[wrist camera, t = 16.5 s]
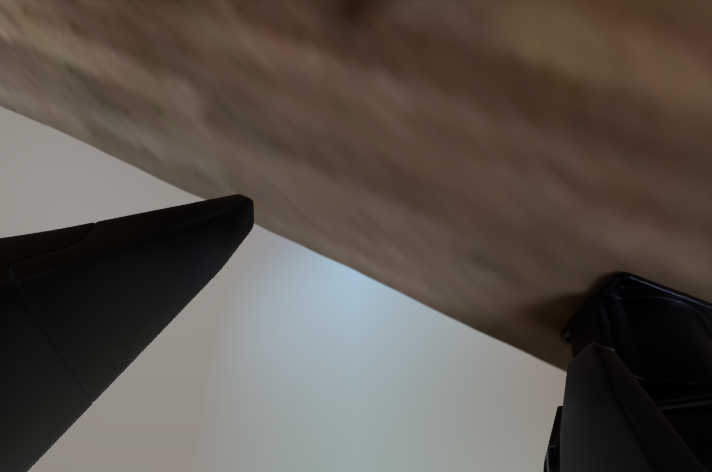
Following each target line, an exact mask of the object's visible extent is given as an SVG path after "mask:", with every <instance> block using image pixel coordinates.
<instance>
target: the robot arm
mask: <svg viewBox="0 0 712 472" xmlns="http://www.w3.org/2000/svg"><path fill="white" fill-rule="evenodd" d="M253 224H254V203H253V200H252V199H250V198H248V197H246V196H244V195H241V194H236V195H230V196H225V197H220V198H215V199H210V200H205V201H200V202H195V203H190V204H185V205H180V206H175V207H170V208H165V209H159V210H154V211H149V212H145V213H139V214H134V215H129V216H124V217H119V218H114V219H109V220H104V221H99V222H97V223H88V224H83V225H78V226H73V227H68V228H63V229H57V230H51V231H45V232H39V233H33V234H26V235H19V236H13V237H6V238H0V472H27V471H28V470H29V469H30V468H31V467H32V466H33V465H34V464H35V463H36V462H37V461H38V460H39V459H40V458H41V457H42V456H43V455H44V454H45V453H46V451H47V450H48V449H49V448H50V447H51V446H52V445H53V444H54V443H55V442H56V441H57V440H58V439H59V438H60V437H61V436H62V435H63V434H64V433H65V432H66V431H67V430H68V428H70V426H71V425H72V424H73V423H74V422H75V421H76V420H77V419H78V418H79V417H80V416H81V415H82V414H83V413H84V412H85V411H86V410H87V409H88V408H89V407H90V406H91V405H92V402H94V401H95V400H96V399H97V398H98V397H99V396H100V395H101V394H102V393H103V392H104V391H105V390H106V389H107V388H108V387H109V385H111V384H112V382H113V381H114V380H115V379H116V378H117V377H118V376H119V375H120V374H121V373H122V372H123V371H124V370H125V369H126V368H127V367H128V366H129V365H130V364H131V363H132V362H133V361H134V360H135V359H136V357H137V356H138V355H139V354H140V353H141V352H142V351H143V350H144V349H145V348H146V347H147V346H148V345H149V344H150V343H151V342H152V341H153V340H154V339H155V338H156V337H157V335H159V334H160V332H161V331H162V330H163V329H164V328H165V327H166V326H167V325H168V324H169V323H170V322H171V321H172V320H173V319H174V318H175V317H176V316H177V315H178V314H179V313H180V312H181V310H183V309H184V307H185V306H186V305H187V304H188V303H189V302H190V301H191V300H192V299H193V298H194V297H195V296H196V295H197V294H198V293H199V292H200V291H201V290H202V289H203V288H204V287H205V285H207V284H208V282H209V281H210V280H211V279H212V278H213V277H214V276H215V275H216V274H217V273H218V272H219V271H220V270H221V269H222V267H223V266H224V265H225V264H226V262H227V261H228V260H229V258H230V257H231V256H232V255H233V253H234V252H235V251H236V249H237V248H238V247H239V245H240V244H241V243H242V242H243V240H244V239H245V238H246V236H247V235H248V234H249V232H250V231H251V230H252V227H253ZM623 280H629V281H628V282H626V283H622V282H621V281H623ZM569 337H570V338H569ZM561 340H562V341H563V342H564V343H565V344H568V345H570V346H571V347H572V355H573V360H572V361H571V362H570V364H569V366H568V369H567V376H566V385H565V394H564V401H563V406H558V408H557V412H556V416H555V420H554V424H553V429H552V432H551V436H550V440H549V445H548V449H547V452H546V457H545V462H544V472H712V303H709V302H706V301H704V300H701V299H698V298H696V297H693V296H690V295H688V294H685V293H682V292H679V291H677V290H674V289H671V288H669V287H666V286H663V285H661V284H658V283H655V282H653V281H650V280H647V279H645V278H642V277H639V276H637V275H634V274H631V273H627V272H622V273H619V274H617V275H615V276H614V277H613V278H612V279H611V281H610V282H609V283H608V284H607V285H606V286H605V287H604V288H603V289H602V290H601V291H600V292H599V293H598V294H597V295H596V296H593V297H591V298H590V299H589V300H588V301H587V302H586V303H585V304H584V305H583V306H582V307H581V308H580V309H579V311H578V312H577V313H576V314H575V315H574V316H573V317H572V318H571V319H570V320H569V325H568V326H567V327H566V328H565V329H564V330H563V331H562V332H561Z"/></svg>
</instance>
